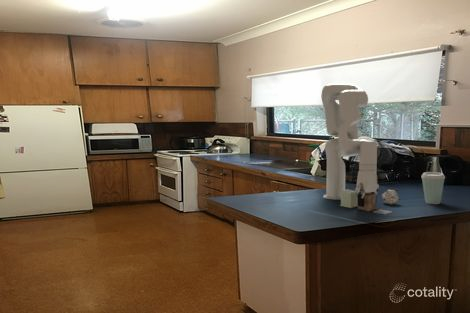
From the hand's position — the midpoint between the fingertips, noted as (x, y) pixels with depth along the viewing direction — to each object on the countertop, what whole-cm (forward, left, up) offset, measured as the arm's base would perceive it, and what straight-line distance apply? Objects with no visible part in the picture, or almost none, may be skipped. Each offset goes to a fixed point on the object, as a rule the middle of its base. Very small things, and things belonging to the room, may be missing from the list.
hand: (367, 204), depth 181 cm
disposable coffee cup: (-39, +11, -3) cm, 41 cm away
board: (0, -1, -3) cm, 3 cm away
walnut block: (0, 0, -2) cm, 2 cm away
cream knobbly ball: (-19, 0, -3) cm, 19 cm away
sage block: (0, -10, -2) cm, 10 cm away
